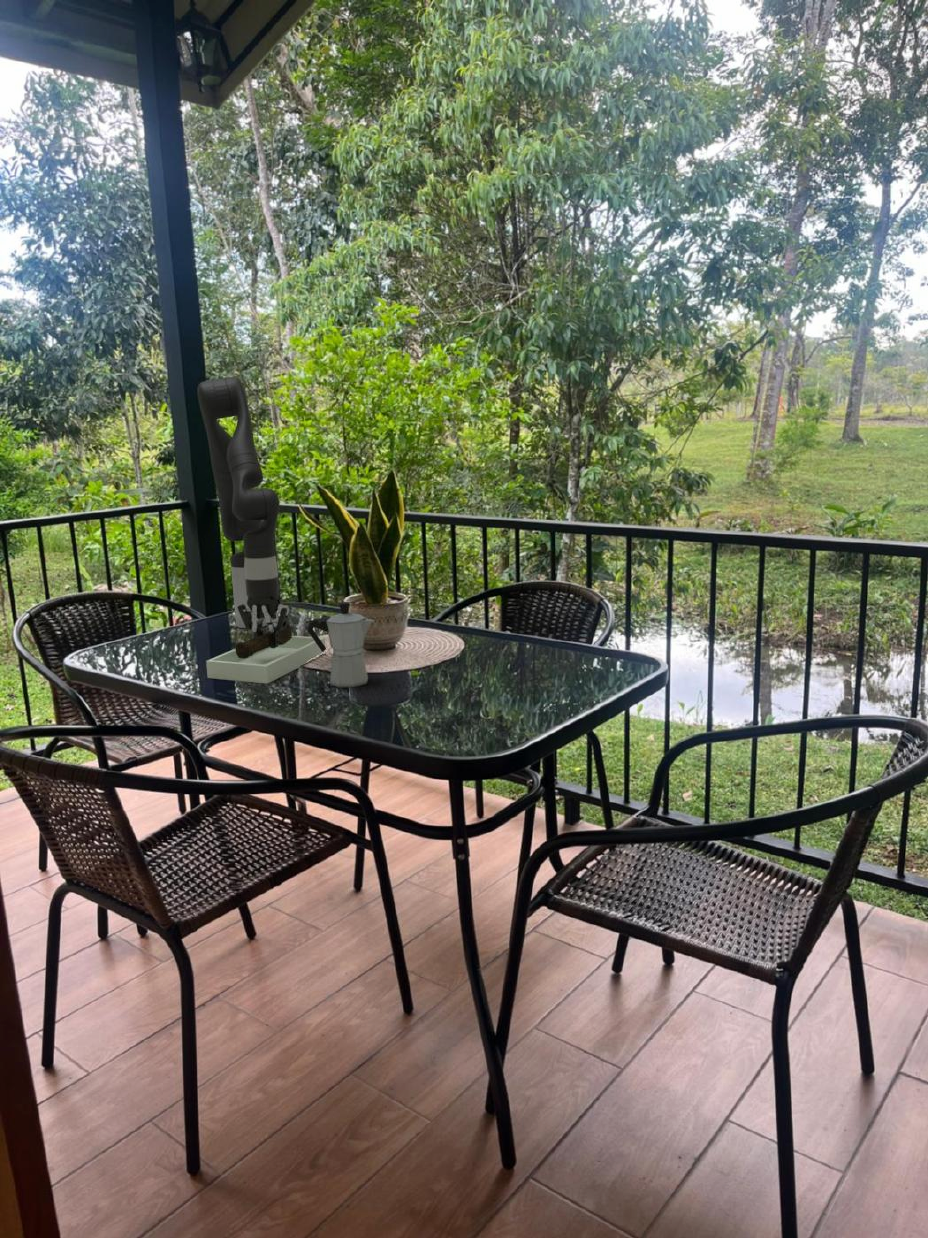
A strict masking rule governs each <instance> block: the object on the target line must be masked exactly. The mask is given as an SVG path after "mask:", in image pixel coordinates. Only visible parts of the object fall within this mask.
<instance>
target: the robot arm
mask: <svg viewBox="0 0 928 1238" xmlns="http://www.w3.org/2000/svg"><path fill="white" fill-rule="evenodd" d="M197 399H198V404H199V408H200V412H201V416H202V420H203V424H204V427H205V432H206V437H207V441H208V442H207V443H208V448H209V454H210V461H211V462H210V463H211V468H212V474H213V477H214V481H215V482H214V483H215V487H216V491H217V495H218V496H217V497H218V501H219V511H220V513H219V514H220V521H221V522H220V523H221V528H222V533H223V536H224V539H226V540H227V541H229V542H242V543H243V550H242V551H239V552H237V553H234V554H232V555H231V556H230V569H231V579H232V580H231V581H232V591H233V592H232V593H233V601H234V602H233V604H234V615H235V624H236V625H235V626H236V628H240V629H246V630H251V631H252V632H253V638H256V637H258V636H261V635H263V634H264V630H262V629H263V627H266V626H268V630H269V631H268V632H270V634H269V635H270V647H271V648H273V649H274V648H276V647H278V645H279V631H281V630H283V629H285V628H286V625H287V623H288V622H289V618H290V614H291V612H292V607H291V606H290V605H287V606H286V605H284V604H283V603H282V601H281V600H280V598H279V595H280V584H279V582H280V581H279V573H278V562H277V556H276V546H275V533H276V526H277V520H278V516H279V512H280V497H279V496H278V494H277V492H276V491H275V490H273V489H272V488H257V487H258V486H259V485H261V484H262V482H263V479H264V475H263V470H262V466H261V464H260V461H259V457H258V453H257V450H256V445H255V440H254V433H253V432H254V431H253V424H252V420H251V414H250V408H249V404H248V397H247V394H246V391H245V387H244V385H243V383H242V381H241V380H240V378H239V377H237V376H229V377H222V378H221V377H220V378H217V379H209V380H205V381H202V382H200V383H199V384H198V386H197ZM231 417H232V418H233V417H236V418H237V419H236V420H237V421H236V426H235V430H234V431H233V434H232V435H230V434H229V433H228V432H227V431H226V430H225V429H224V427H222V425H221V424H220V422H219V419H226V418H231ZM254 488H255V489H254ZM278 615H279V616H278Z"/></svg>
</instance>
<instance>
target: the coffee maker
mask: <svg viewBox="0 0 928 1238" xmlns="http://www.w3.org/2000/svg"><path fill="white" fill-rule="evenodd" d="M350 603H351V602H349V601H342V602H339V603H338V605H339V609H340V612H341V613H338V614H335V615H332V616H330V615H322V616H321V617H320V618H313V619H311V620H310V621H309V623H308V625H307V628H306V631H307V632H308V634H309V635H310V637H312V638H313V639H314V641H315V642H316V644H317V645H318V647H319V648H320V649H321V651H322V652H323V651H324V650H325V649H327V647H326V645H325V646H324V644H323V643H322V641H321V640H320V639H319V638H320V637H319V636H318V634H317V633H316V631H315V630H314V629H315V628H316V629H318V630H321V631H324V632H327V635H328V640H329V646H330V648H331V649H333V650H332V656H331V657H332V658H331V669H330V677H329V678H330V679H329V685H330V686H334V687H337V688H355V687H359V686H363V685H367V683H368V682H369V681H368V680H369V676H368V672H367V667H366V664H365V658H364V653H363V651H362V648H363V647H364V641H365V637H366V635H367V633H368V630H369V628H370V627H371V624H372V623H374V622H375V620H374V619H370V618H367V617H365V616H364V615H362V614H358V613H352V612H350V605H351V604H350Z"/></svg>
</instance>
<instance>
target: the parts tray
mask: <svg viewBox="0 0 928 1238" xmlns="http://www.w3.org/2000/svg"><path fill="white" fill-rule="evenodd" d="M319 639H320V640H321V641H322V643H323V644H324V646H325V647H326V637H319ZM326 649H327V648H326ZM326 649H325V650H326ZM325 650H324V651H325ZM324 651H323V652H324ZM326 651H327V650H326ZM321 653H322V651H321V649H320V648H319V647H318V645H317V644H316V642H315V641H314V639H313V638H312V637H311V636H301V635H292V638H291V639H290V640H289V641H288V642H286V643H285V644H283V645H278V647H276V648H274V649H273V648H271V647H268V648H266V649H263V650H261V651H258V652H256V653H254V654H253V656H249V657H248V658H239V657H238V656H237V655H236V649H235V648H234V649H231V650H229V651H226V652H223V653H222V654H220V655H217V656H215V657H213V658H210V659H207V660H206V661H205V664H206V673H207V674H206V675H207V679H216V680H226V681H236V682H245V683H247V682H248V683H258V684H270V683H272V682H273V681H276V680H277V679H279V678H281V677H283V676H285V675H287V674H289V673H291V672H293V671H295V670H296V669H298V668H301V667H302V666H301V665H303V664H304V663H306V662H307V661H308V660H310V659H311V658H314V657H316V656H317V655H319V654H321ZM300 666H301V667H300ZM303 666H304V665H303Z"/></svg>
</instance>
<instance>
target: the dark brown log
mask: <svg viewBox="0 0 928 1238" xmlns="http://www.w3.org/2000/svg"><path fill="white" fill-rule="evenodd" d="M292 632H293V631H292V628H291V625H290V624H289V623H288V622H287V625H286V628H285V629H283V630H281V631H279V645H283V644H285V643H286V642H288V641H289V640H290V639H291V638H292V636H293V633H292ZM269 634H270V631H268V632H266V633H263V635H261V636H258V637H256V638H254V637H252V638H250V639H247V640H245V641H242V642H241V641H240V642H236V643H235V648H234V649H236V655H237V656H238V657H239V658H248V657H249V656H253V654H254V653H256V652H258V651H261V650H263V649H266V648H268V647H270V635H269Z"/></svg>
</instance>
